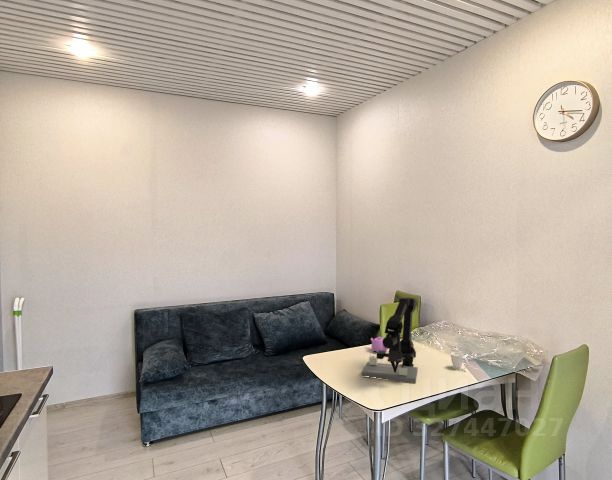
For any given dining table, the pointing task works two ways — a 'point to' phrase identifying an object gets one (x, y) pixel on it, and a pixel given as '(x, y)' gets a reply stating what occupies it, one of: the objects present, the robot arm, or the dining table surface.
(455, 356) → the cup
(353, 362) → the dining table surface
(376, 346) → the teapot
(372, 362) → the block
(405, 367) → the sage fader
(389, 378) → the console
